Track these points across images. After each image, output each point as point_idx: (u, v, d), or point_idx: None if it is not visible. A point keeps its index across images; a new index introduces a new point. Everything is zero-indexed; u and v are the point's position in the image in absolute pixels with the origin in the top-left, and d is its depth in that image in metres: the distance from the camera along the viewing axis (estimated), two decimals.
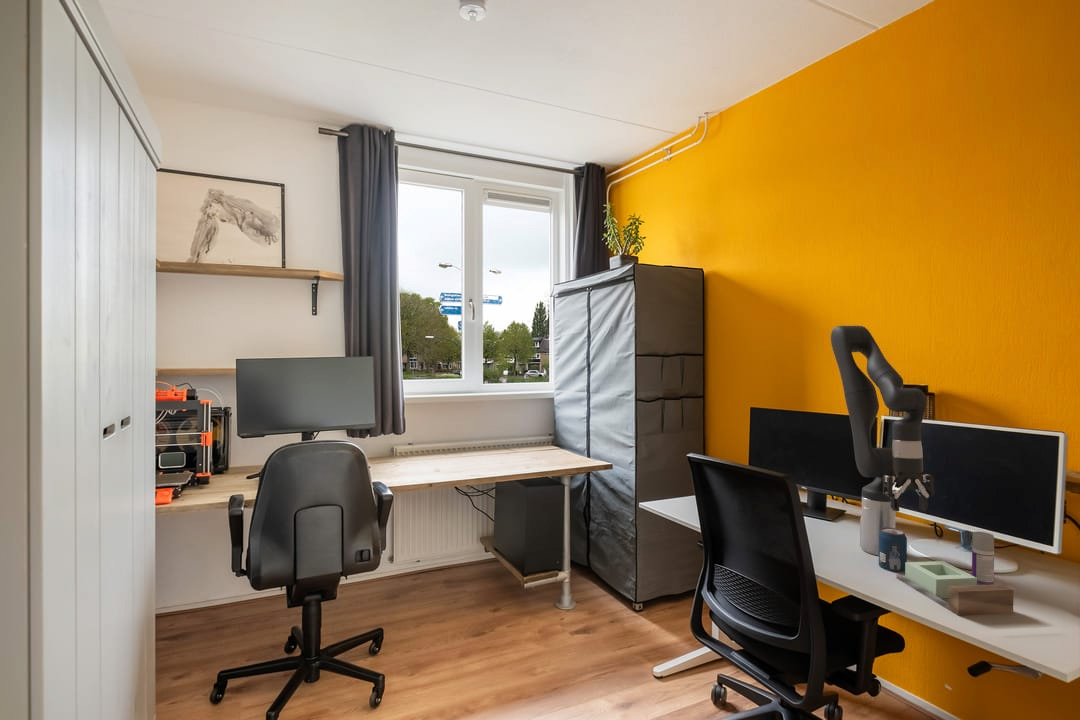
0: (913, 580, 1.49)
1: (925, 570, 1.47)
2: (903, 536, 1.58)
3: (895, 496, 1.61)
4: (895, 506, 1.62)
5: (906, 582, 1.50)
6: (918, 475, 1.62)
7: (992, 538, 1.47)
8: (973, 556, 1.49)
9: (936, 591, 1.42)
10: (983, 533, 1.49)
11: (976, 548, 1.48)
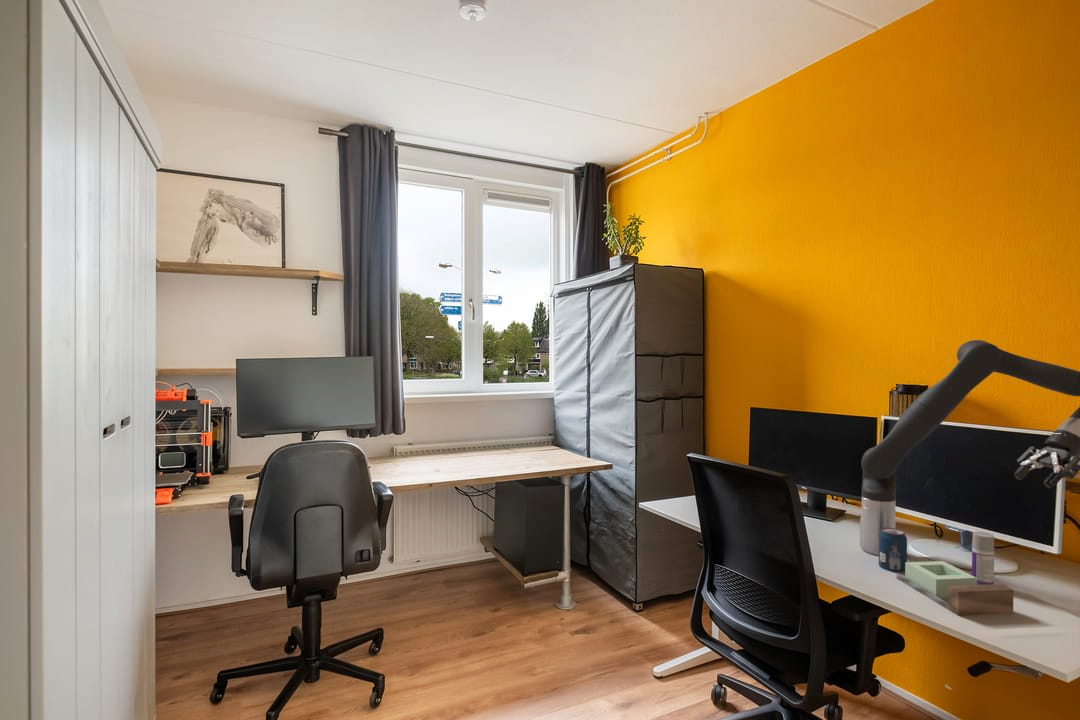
0: (913, 580, 1.49)
1: (925, 570, 1.47)
2: (903, 536, 1.58)
3: None
4: None
5: (906, 582, 1.50)
6: None
7: (992, 538, 1.47)
8: (973, 556, 1.49)
9: (936, 591, 1.42)
10: (983, 533, 1.49)
11: (976, 548, 1.48)
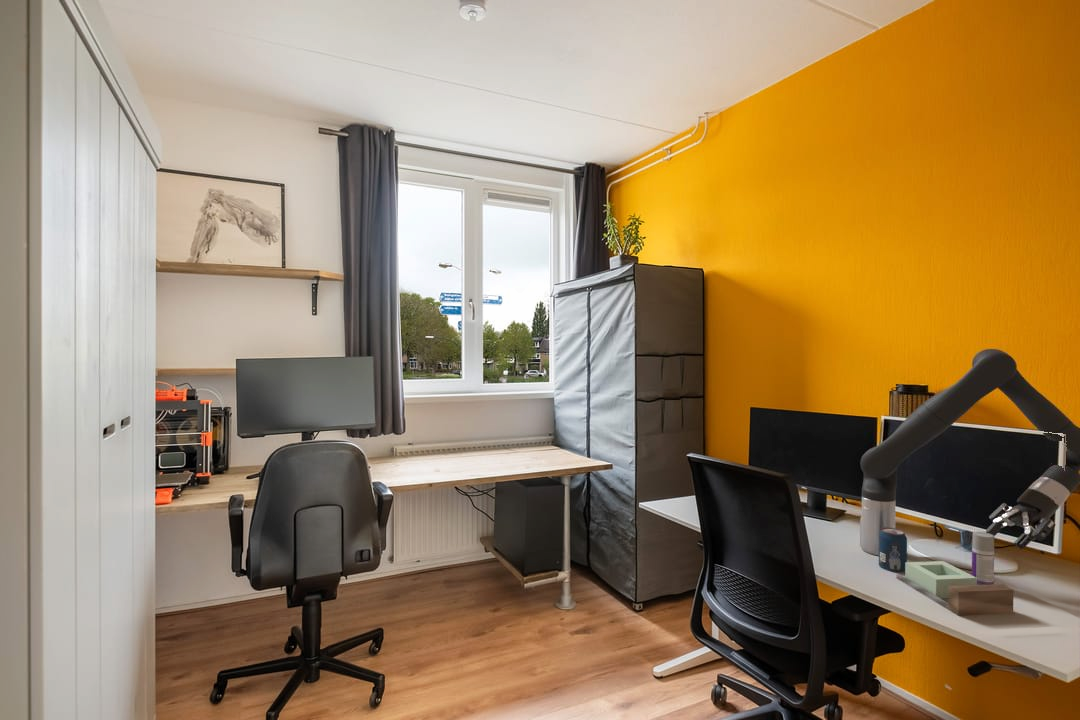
0: (913, 580, 1.49)
1: (925, 570, 1.47)
2: (903, 536, 1.58)
3: None
4: None
5: (906, 582, 1.50)
6: None
7: (992, 538, 1.47)
8: (973, 556, 1.49)
9: (936, 591, 1.42)
10: (982, 533, 1.49)
11: (976, 548, 1.48)
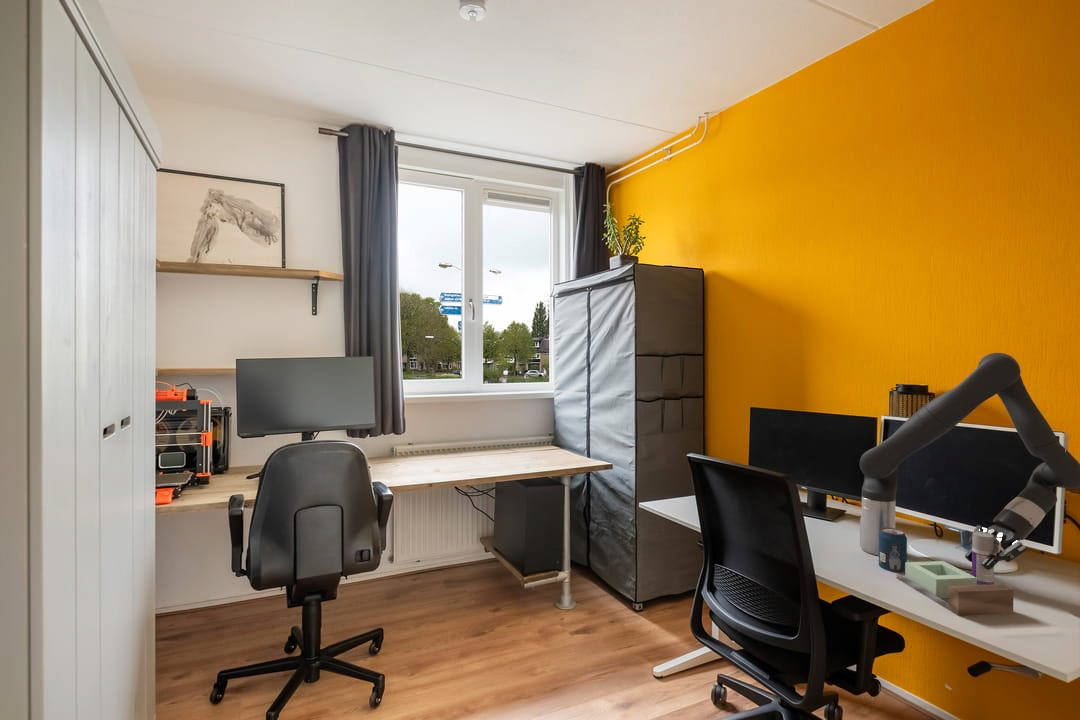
0: (913, 580, 1.49)
1: (925, 570, 1.47)
2: (903, 536, 1.58)
3: None
4: None
5: (906, 582, 1.50)
6: None
7: (992, 538, 1.47)
8: (973, 556, 1.49)
9: (936, 591, 1.42)
10: (982, 533, 1.49)
11: (976, 548, 1.48)
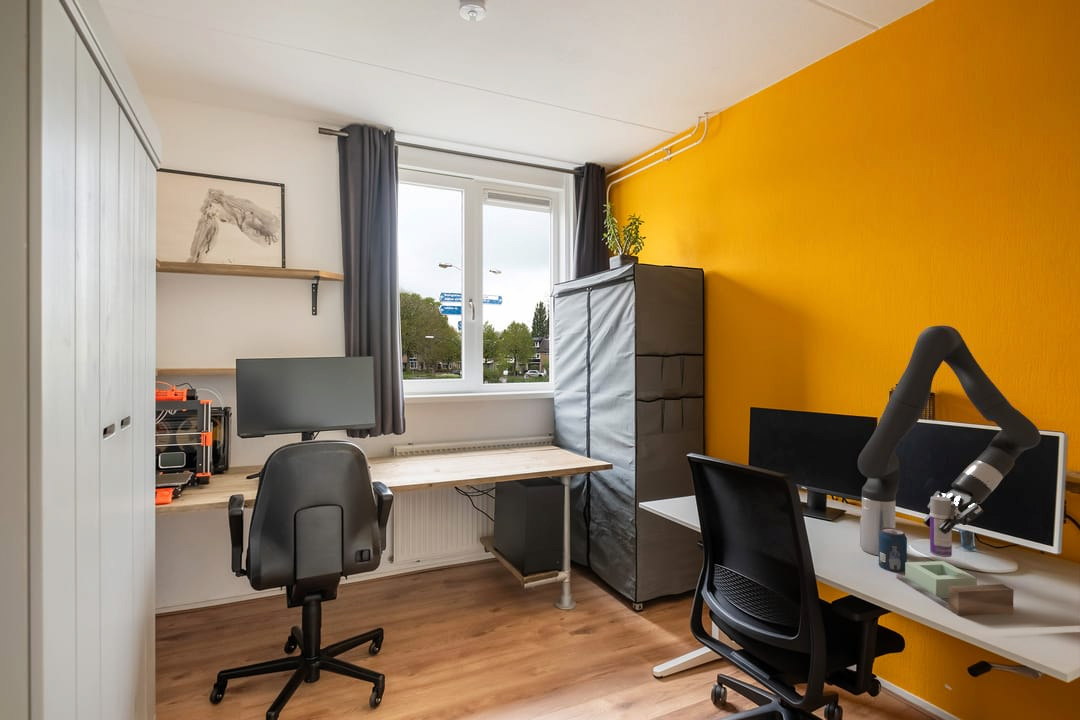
0: (913, 580, 1.49)
1: (925, 570, 1.47)
2: (903, 536, 1.58)
3: None
4: None
5: (906, 582, 1.50)
6: None
7: (949, 501, 1.45)
8: (931, 520, 1.47)
9: (936, 591, 1.42)
10: (940, 497, 1.47)
11: (933, 512, 1.46)
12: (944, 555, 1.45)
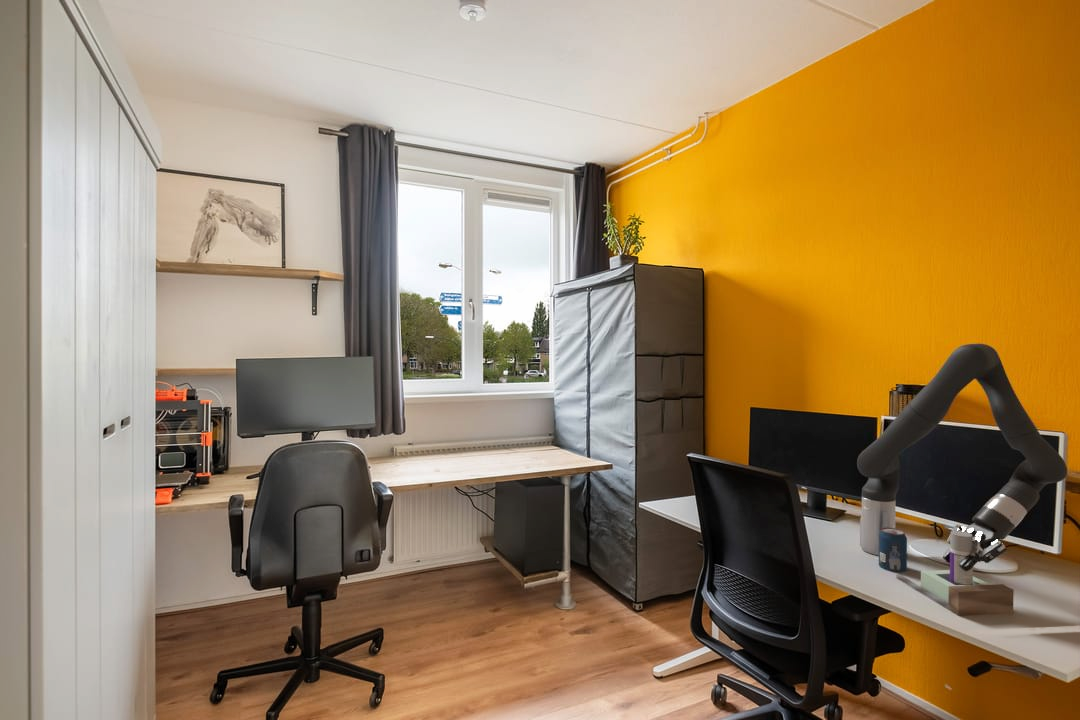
0: (929, 590, 1.44)
1: (942, 579, 1.41)
2: (903, 536, 1.58)
3: None
4: None
5: (906, 582, 1.50)
6: None
7: (971, 537, 1.38)
8: (951, 556, 1.41)
9: None
10: (961, 532, 1.41)
11: (953, 548, 1.40)
12: None
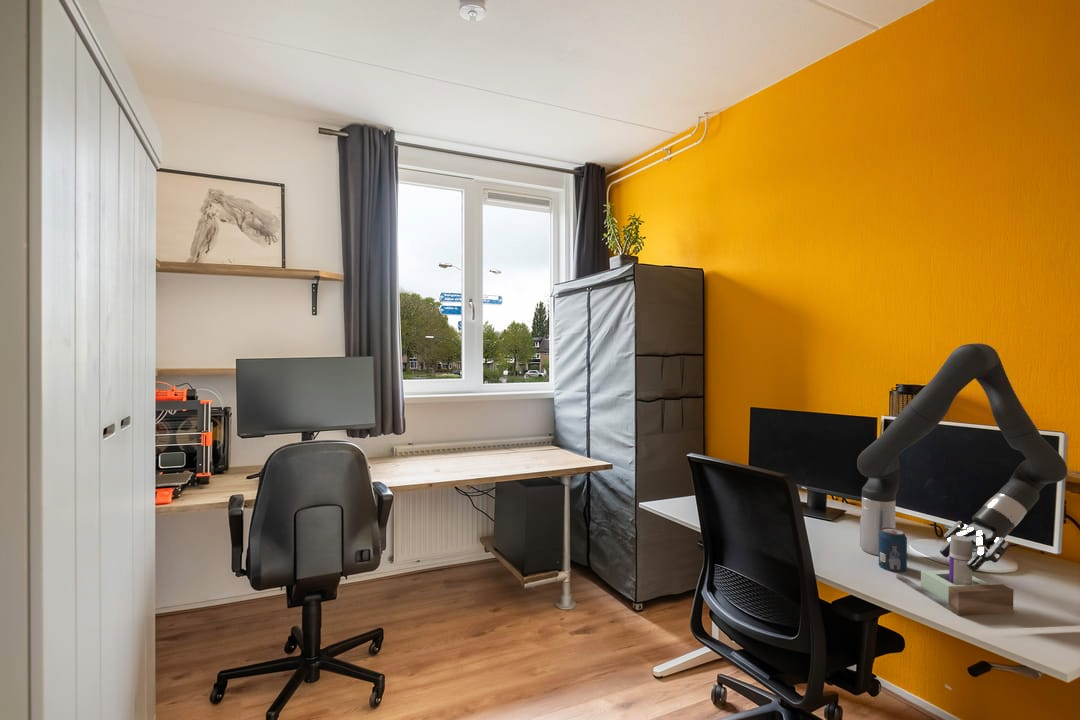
0: (929, 590, 1.44)
1: (942, 579, 1.41)
2: (903, 536, 1.58)
3: None
4: None
5: (906, 582, 1.50)
6: None
7: (970, 542, 1.38)
8: (951, 561, 1.41)
9: None
10: (960, 537, 1.41)
11: (953, 553, 1.40)
12: None
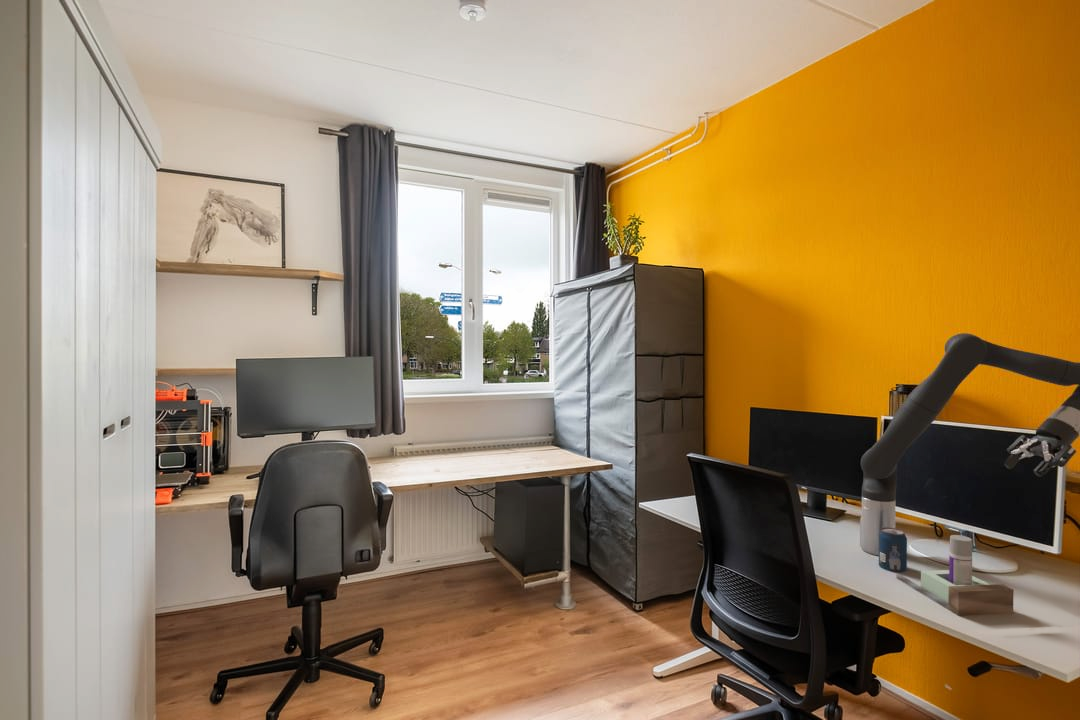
0: (929, 590, 1.44)
1: (942, 579, 1.41)
2: (903, 536, 1.58)
3: None
4: None
5: (906, 582, 1.50)
6: None
7: (970, 542, 1.38)
8: (951, 561, 1.41)
9: None
10: (960, 537, 1.41)
11: (953, 553, 1.40)
12: None
